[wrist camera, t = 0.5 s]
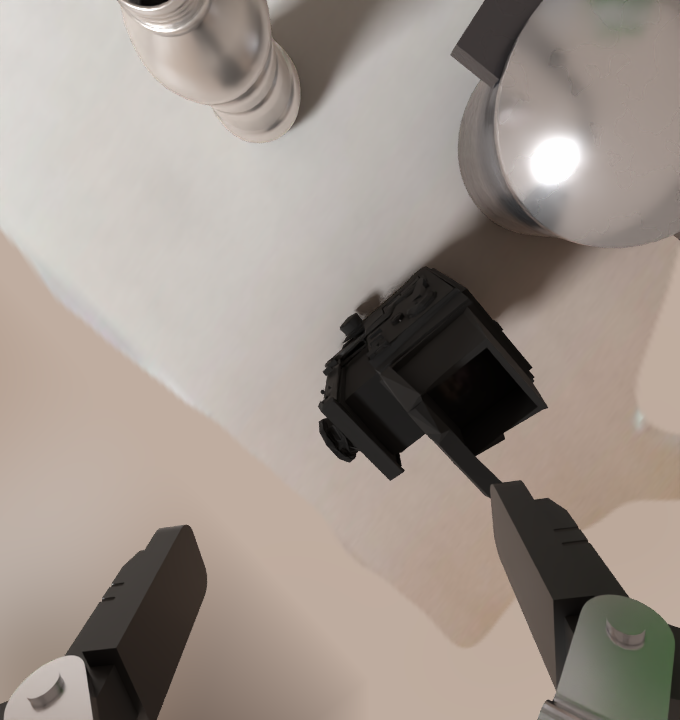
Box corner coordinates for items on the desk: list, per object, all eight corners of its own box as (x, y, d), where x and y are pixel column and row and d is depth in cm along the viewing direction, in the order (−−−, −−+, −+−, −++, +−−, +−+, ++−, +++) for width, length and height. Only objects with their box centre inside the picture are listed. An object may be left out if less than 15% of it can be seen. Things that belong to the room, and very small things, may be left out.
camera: (302, 355, 39) (254, 483, 20) (420, 250, 36) (494, 285, 17) (376, 430, 42) (394, 611, 22) (493, 337, 38) (631, 455, 19)
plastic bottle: (281, 31, 32) (173, -244, 13) (319, 127, 34) (274, 9, 15) (203, 73, 33) (-3, -127, 14) (244, 163, 35) (112, 97, 16)
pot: (390, 150, 34) (407, 120, 24) (516, -45, 30) (602, -185, 20) (578, 290, 37) (667, 319, 26) (715, 129, 33) (884, 88, 23)
